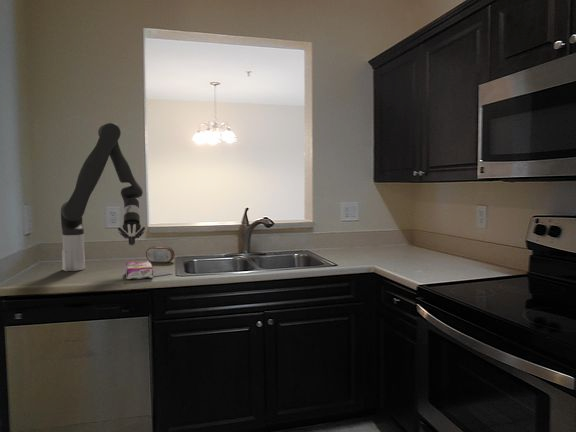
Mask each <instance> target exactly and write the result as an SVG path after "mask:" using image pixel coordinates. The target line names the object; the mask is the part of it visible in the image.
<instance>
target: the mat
mask: <svg viewBox="0 0 576 432" xmlns="http://www.w3.org/2000/svg"><path fill="white" fill-rule="evenodd" d="M169 275H171V276H172V275H173V273H172V272H170V271H167V270H163V269H161V270H156V271H154V270H153V278H156V277H162V276H163V277H164V276H169ZM141 279H142V280H143V279H144V278H138V279H134V280H141Z"/></svg>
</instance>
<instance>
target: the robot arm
mask: <svg viewBox="0 0 576 432" xmlns="http://www.w3.org/2000/svg"><path fill="white" fill-rule="evenodd" d="M97 133H98V134H97V135H98V140H97V142H96V143H95V144H96V145H95V146H94V147H93V149H92V150H91V152H90V153H89V154H88V156H87V157H86V159H85V160H84V162H83V164H82V166H81V168H80V170H79V174H78V175H77V180H76V184H75V188H74V190H73V192H72V194H71V196H70V198H69V199H68V200H67V201H65V202H64V203H63V204H62V205H61V207H60V221H61V222H60V224H61V231H62V232H61V233H62V234H61V235H62V250H61V260H62V262H61V263H62V265H61V266H62V270H63V271H65V272H77V271H82V270H85V269H86V260H85V258H86V256H85V254H86V252H85V229H84V226H83V225H84V224H83V216H84V214H85V211H86V208H87V205H88V202H89V200H90V197H91V195H92V193H93V191H94V190H95V188H96V186H97V185H98V182H99V181H100V179H101V177H102V175H103V173H104V171H105V170H104V169H105V167H106V165H107V162H108V160H109V157H110V159H111V162H112V164H113V167H114V170H115V172H116V174H117V175H116V176H117V178H118V180H119V182H120V183H122V184H124V183H128V184H130V185H128V186H124V187H123V188H122V189H121V190H120V195H121V198H122V200H123V223H122V226H121V227H117V232H118V234H120V236H122V238H124V239H125V240H126V239H128V245H130V246H134V245H135V244H136V239H139V238H140V237H141V236H143V235H144V233H145V232H146V227H145V226H142V225H141V215H140V213H141V211H140V202H139V200H138V199H139V198H141V197H142V196H143V189H142V187H141V185H140V184H139V183H138V181H137V180H136V178H135V177H134V175H133V172H132V169H131V167H130V165H129V162H128V161H127V158H126V157H125V155H124V153H123V151H122V150H121V147H120V145H119V139H120V138H121V128H120V127H119V125H118V124H117V123H114V122H108V123H105V124H102V125H101V126H99V128H98V132H97Z"/></svg>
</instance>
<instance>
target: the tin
mask: <svg viewBox="0 0 576 432" xmlns="http://www.w3.org/2000/svg"><path fill="white" fill-rule="evenodd" d="M145 258H146V259H147V261H150V262H151V263H159V264H160V263H161V264H164V263H165V264H167V263H169V262H172V261H173V260H174V258H175V250H174V249H173V248H171V247H169V246H156V245H155V246H151V247H149V248H148V249H147V250H146V252H145Z"/></svg>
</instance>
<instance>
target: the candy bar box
mask: <svg viewBox="0 0 576 432" xmlns="http://www.w3.org/2000/svg"><path fill="white" fill-rule="evenodd" d="M153 272H154V267H153V264H152V262H150V261H149V260H147V261H145V260H143V261H142V260H141V261H128V262H127V261H126V262H125V276H126V280H132V279H133V280H135V279H137V280H139V279H138V278H143V279H148V278H149V279H152V278H154V277H153Z"/></svg>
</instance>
